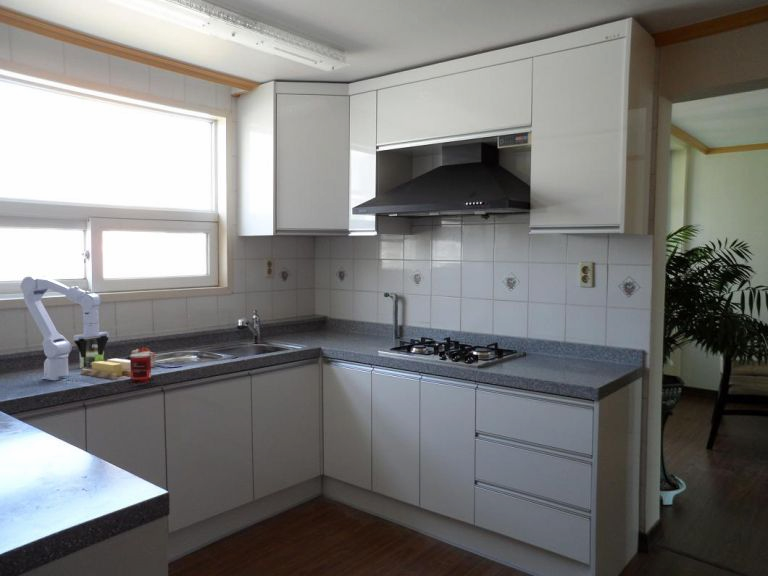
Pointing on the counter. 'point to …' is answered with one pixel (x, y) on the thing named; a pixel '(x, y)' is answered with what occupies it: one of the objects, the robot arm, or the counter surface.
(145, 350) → the food item
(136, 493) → the counter surface
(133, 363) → the canned food
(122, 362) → the white bar
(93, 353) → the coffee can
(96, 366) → the pale yellow bar
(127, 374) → the slot board
